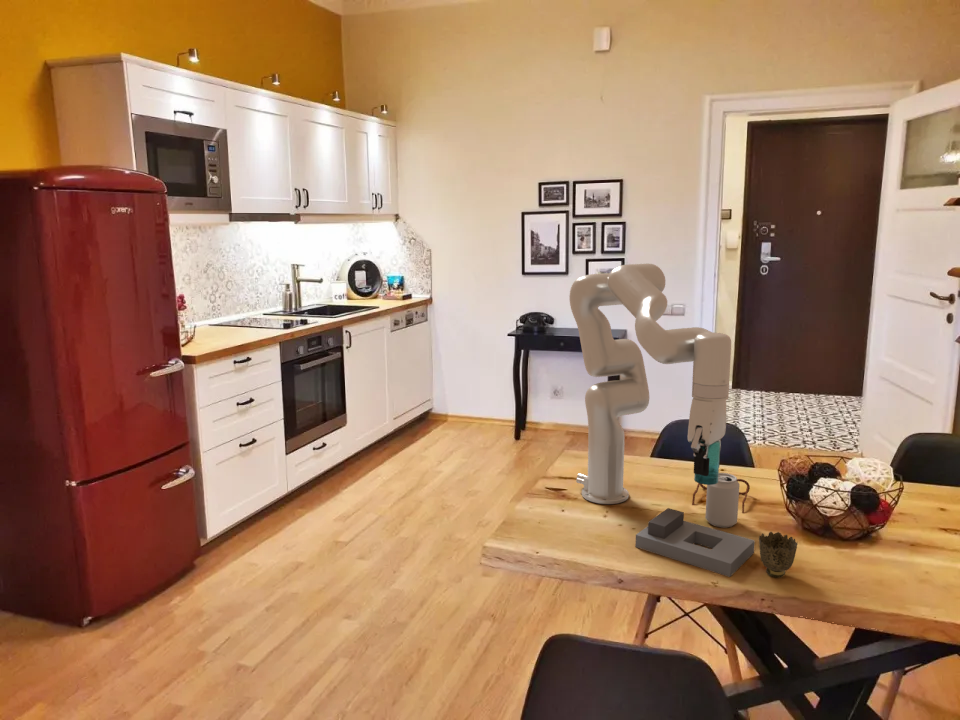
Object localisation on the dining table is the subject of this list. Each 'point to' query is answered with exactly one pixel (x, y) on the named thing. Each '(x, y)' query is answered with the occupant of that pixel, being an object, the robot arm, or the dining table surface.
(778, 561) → the cup
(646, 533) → the plate
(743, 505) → the glasses
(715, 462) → the teal translucent cylinder
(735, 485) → the can
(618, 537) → the dining table surface
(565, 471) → the dining table surface
